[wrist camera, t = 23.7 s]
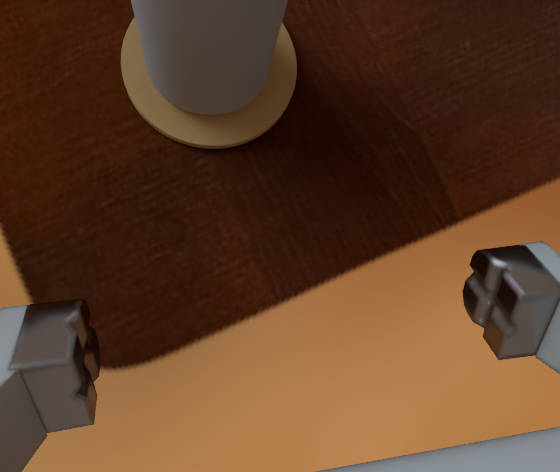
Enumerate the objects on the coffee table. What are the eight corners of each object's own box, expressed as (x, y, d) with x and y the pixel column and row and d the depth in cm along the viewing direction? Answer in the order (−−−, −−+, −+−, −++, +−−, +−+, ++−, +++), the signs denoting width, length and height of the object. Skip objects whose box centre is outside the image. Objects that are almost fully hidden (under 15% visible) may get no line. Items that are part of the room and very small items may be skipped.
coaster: (327, 53, 22) (329, 49, 22) (231, 183, 21) (232, 180, 21) (191, -44, 22) (191, -50, 22) (85, 80, 21) (83, 75, 20)
